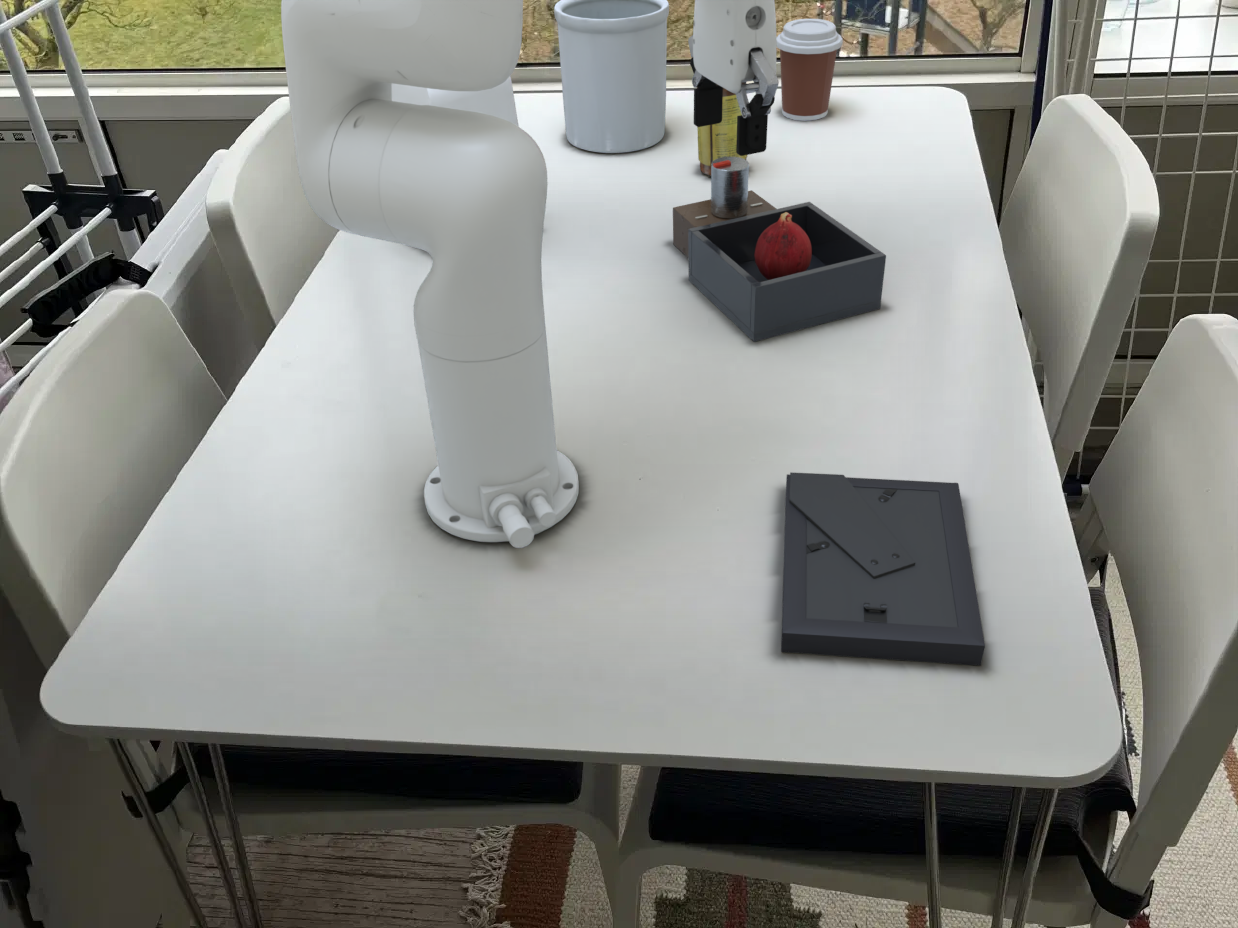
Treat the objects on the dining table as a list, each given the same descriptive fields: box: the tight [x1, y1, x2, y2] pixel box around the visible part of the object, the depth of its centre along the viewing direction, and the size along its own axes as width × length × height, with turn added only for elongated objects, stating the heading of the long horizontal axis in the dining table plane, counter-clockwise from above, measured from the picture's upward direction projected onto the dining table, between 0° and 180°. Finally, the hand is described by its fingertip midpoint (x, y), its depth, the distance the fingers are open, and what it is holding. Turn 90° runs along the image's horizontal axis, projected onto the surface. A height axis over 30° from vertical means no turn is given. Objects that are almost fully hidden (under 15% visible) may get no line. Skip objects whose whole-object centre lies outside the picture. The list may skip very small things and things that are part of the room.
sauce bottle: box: [696, 82, 748, 177], centre depth 140 cm, size 6×6×20 cm
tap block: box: [672, 190, 777, 259], centre depth 126 cm, size 8×10×5 cm
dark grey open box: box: [688, 201, 887, 343], centre depth 117 cm, size 15×15×6 cm
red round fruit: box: [754, 212, 812, 280], centre depth 116 cm, size 6×6×8 cm
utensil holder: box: [553, 0, 670, 154], centre depth 152 cm, size 15×15×18 cm
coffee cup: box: [776, 18, 844, 122], centre depth 158 cm, size 9×9×12 cm
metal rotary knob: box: [710, 157, 750, 219], centre depth 123 cm, size 4×4×6 cm
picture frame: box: [780, 472, 986, 667], centre depth 83 cm, size 13×2×18 cm
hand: (728, 138), depth 120 cm, fingers open, 9 cm apart
